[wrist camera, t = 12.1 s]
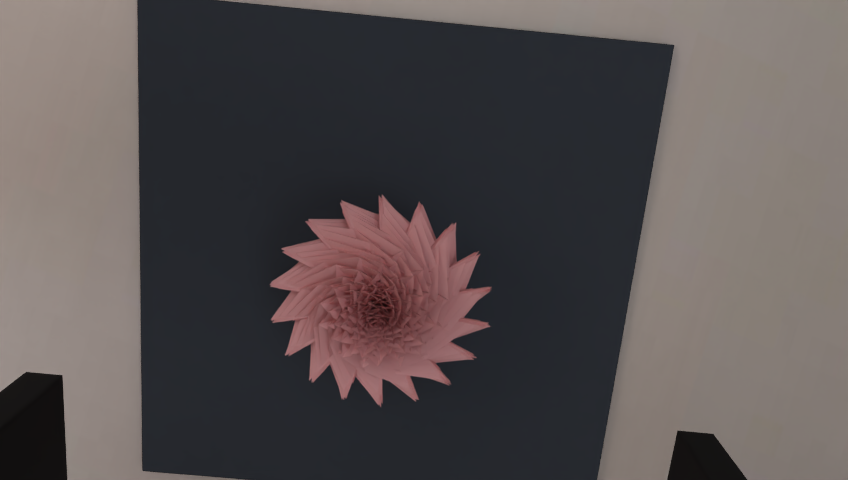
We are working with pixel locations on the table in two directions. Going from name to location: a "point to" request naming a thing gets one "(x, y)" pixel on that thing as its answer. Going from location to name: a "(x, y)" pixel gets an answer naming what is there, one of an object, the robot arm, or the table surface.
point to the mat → (361, 186)
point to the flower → (379, 299)
